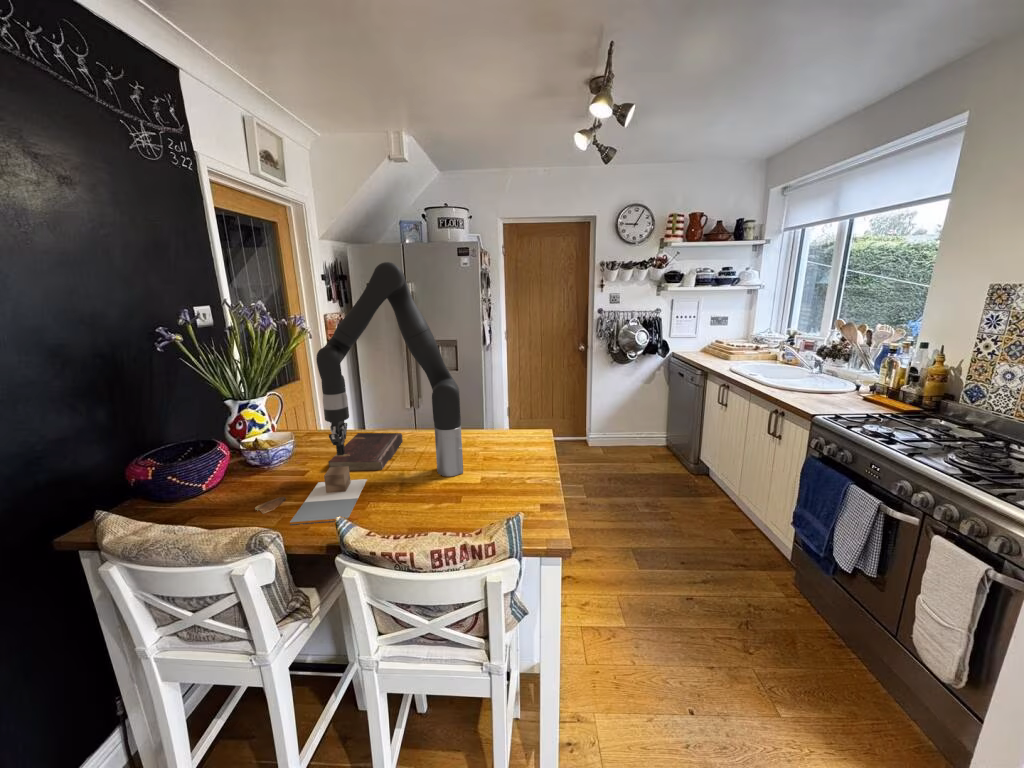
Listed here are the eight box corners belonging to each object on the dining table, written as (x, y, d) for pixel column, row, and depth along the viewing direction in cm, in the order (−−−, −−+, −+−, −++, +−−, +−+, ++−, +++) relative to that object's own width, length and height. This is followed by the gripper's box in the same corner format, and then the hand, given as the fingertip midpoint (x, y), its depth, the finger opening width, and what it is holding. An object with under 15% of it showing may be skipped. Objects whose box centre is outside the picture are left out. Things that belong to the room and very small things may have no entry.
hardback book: (382, 473, 146) (380, 461, 145) (330, 474, 146) (328, 461, 145) (402, 443, 175) (401, 432, 173) (359, 443, 175) (357, 433, 173)
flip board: (367, 481, 140) (367, 479, 139) (349, 520, 117) (348, 517, 116) (318, 485, 138) (318, 482, 138) (290, 525, 115) (289, 522, 114)
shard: (291, 496, 132) (291, 491, 131) (302, 504, 127) (301, 498, 126) (254, 510, 123) (253, 505, 123) (265, 519, 119) (264, 514, 118)
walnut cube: (350, 482, 137) (348, 466, 135) (345, 491, 131) (343, 474, 130) (332, 484, 136) (329, 467, 135) (326, 492, 130) (324, 475, 129)
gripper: (341, 411, 128) (347, 462, 132) (352, 399, 141) (357, 446, 145) (317, 412, 127) (323, 463, 132) (330, 400, 140) (335, 447, 144)
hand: (341, 454), depth 138 cm, fingers closed
